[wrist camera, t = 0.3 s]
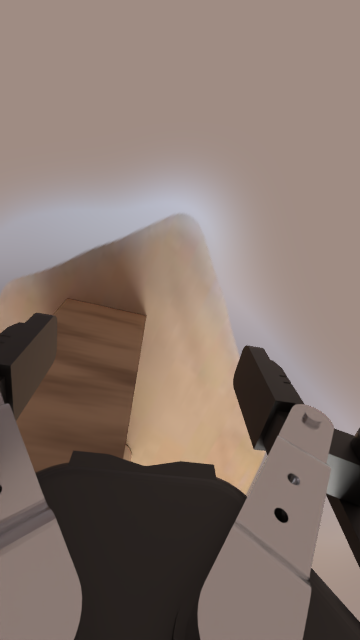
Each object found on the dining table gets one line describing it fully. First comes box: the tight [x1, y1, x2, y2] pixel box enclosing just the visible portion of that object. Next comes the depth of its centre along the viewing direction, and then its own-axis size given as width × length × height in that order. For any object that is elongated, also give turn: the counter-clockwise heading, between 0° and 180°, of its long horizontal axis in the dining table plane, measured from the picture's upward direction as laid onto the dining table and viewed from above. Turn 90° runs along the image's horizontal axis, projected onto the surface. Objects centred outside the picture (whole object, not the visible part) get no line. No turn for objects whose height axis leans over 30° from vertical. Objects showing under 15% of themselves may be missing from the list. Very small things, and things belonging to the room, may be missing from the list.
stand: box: [16, 298, 146, 473], centre depth 28 cm, size 10×12×37 cm
